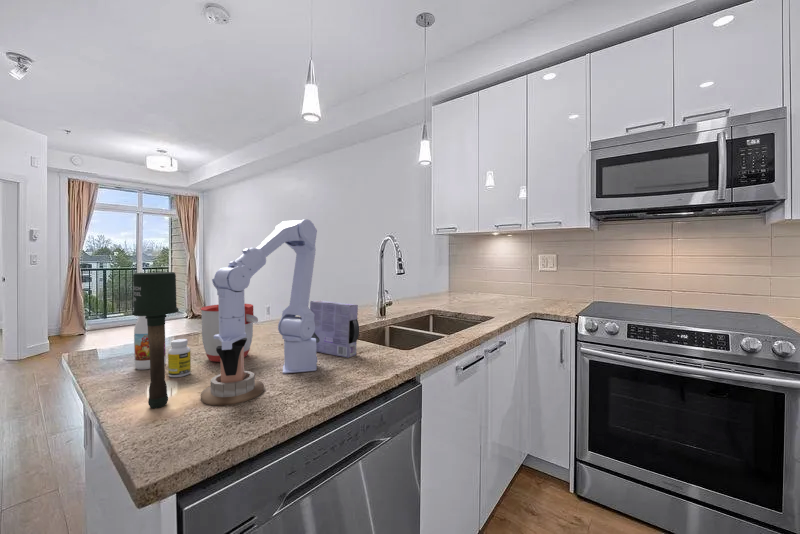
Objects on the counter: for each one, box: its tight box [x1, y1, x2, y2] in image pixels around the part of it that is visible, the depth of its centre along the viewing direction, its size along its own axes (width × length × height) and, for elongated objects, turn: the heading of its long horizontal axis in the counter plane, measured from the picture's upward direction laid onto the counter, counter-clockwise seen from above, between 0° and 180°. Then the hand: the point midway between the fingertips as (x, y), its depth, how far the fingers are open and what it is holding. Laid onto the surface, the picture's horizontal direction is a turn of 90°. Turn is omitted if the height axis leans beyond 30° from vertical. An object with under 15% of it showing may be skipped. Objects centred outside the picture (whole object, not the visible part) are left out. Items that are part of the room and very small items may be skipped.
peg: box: [219, 346, 245, 383], centre depth 86 cm, size 4×4×8 cm
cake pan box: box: [309, 299, 360, 359], centre depth 122 cm, size 19×5×18 cm, turn 60°
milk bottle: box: [133, 316, 167, 371], centre depth 107 cm, size 8×8×20 cm
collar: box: [200, 370, 265, 406], centre depth 87 cm, size 14×14×4 cm
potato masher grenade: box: [131, 271, 180, 409], centre depth 79 cm, size 8×9×30 cm
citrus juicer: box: [200, 303, 259, 363], centre depth 116 cm, size 16×17×20 cm
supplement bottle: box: [167, 338, 192, 378], centre depth 100 cm, size 5×5×10 cm
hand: (232, 371), depth 86 cm, fingers closed on peg, 4 cm apart
